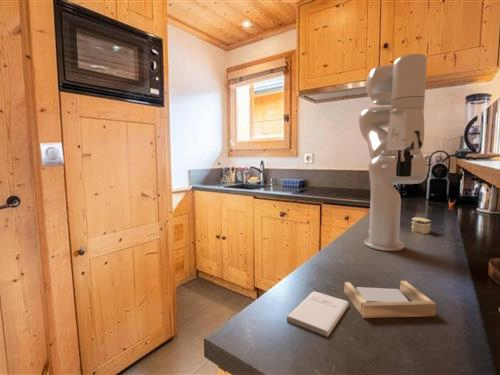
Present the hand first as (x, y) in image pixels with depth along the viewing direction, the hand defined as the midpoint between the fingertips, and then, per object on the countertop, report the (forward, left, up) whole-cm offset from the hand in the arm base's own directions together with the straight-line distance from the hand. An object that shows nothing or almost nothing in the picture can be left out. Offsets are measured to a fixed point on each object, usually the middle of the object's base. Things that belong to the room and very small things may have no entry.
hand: (403, 176), depth 73 cm
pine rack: (+17, -13, -26) cm, 34 cm away
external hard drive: (+20, -28, -27) cm, 44 cm away
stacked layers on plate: (-37, +30, -27) cm, 55 cm away
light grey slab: (+18, -14, -27) cm, 35 cm away
